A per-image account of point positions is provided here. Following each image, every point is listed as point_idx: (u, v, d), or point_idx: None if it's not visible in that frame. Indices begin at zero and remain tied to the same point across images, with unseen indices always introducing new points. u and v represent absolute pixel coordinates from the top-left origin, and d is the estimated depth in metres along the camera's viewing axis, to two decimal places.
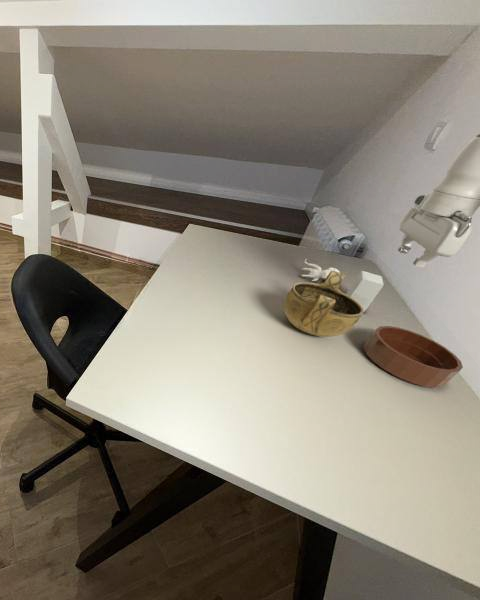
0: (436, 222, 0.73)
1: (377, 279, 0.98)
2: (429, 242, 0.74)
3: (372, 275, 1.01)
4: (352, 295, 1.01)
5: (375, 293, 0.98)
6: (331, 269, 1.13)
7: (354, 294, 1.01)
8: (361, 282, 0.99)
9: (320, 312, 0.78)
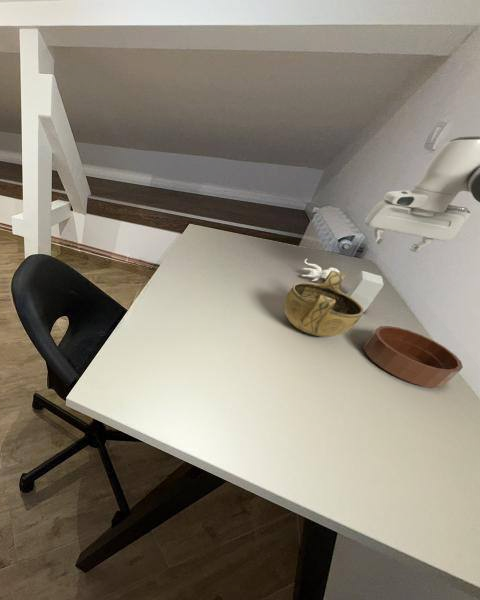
0: (436, 217, 0.85)
1: (377, 279, 0.98)
2: (436, 233, 0.87)
3: (372, 275, 1.01)
4: (352, 295, 1.01)
5: (375, 293, 0.98)
6: (331, 269, 1.13)
7: (354, 294, 1.01)
8: (361, 282, 0.99)
9: (320, 312, 0.78)
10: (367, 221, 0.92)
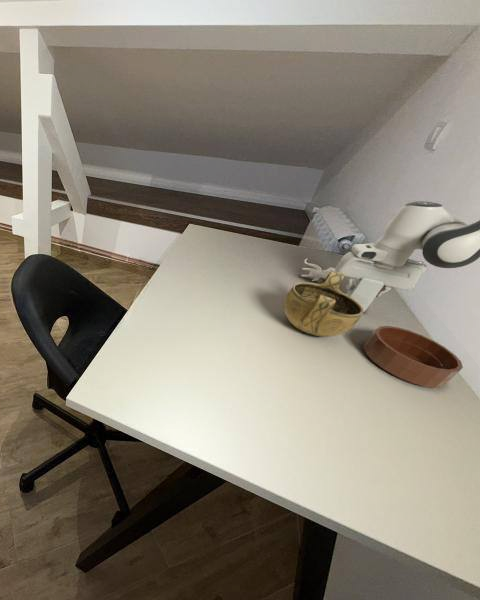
0: (397, 269, 0.94)
1: None
2: (398, 283, 0.96)
3: None
4: (352, 295, 1.01)
5: (375, 293, 0.98)
6: (331, 269, 1.13)
7: (354, 294, 1.01)
8: (361, 282, 0.99)
9: (320, 312, 0.78)
10: (337, 269, 1.02)
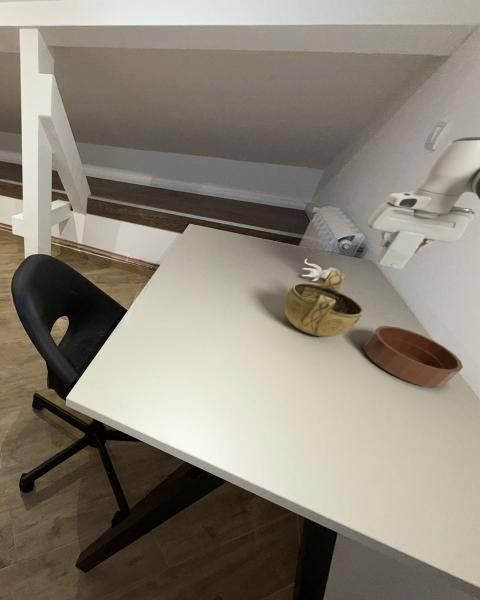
0: (440, 218, 0.84)
1: None
2: (441, 235, 0.86)
3: None
4: (388, 251, 0.91)
5: (415, 247, 0.87)
6: (331, 269, 1.13)
7: (390, 250, 0.90)
8: (398, 235, 0.88)
9: (320, 312, 0.78)
10: (370, 223, 0.92)
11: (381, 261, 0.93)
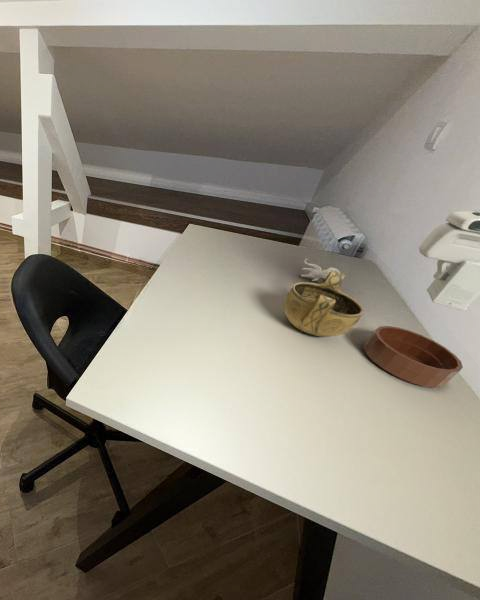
0: None
1: None
2: None
3: None
4: (446, 287, 0.70)
5: None
6: (331, 269, 1.13)
7: (450, 285, 0.69)
8: (463, 267, 0.67)
9: (320, 312, 0.78)
10: (423, 250, 0.70)
11: (436, 298, 0.72)
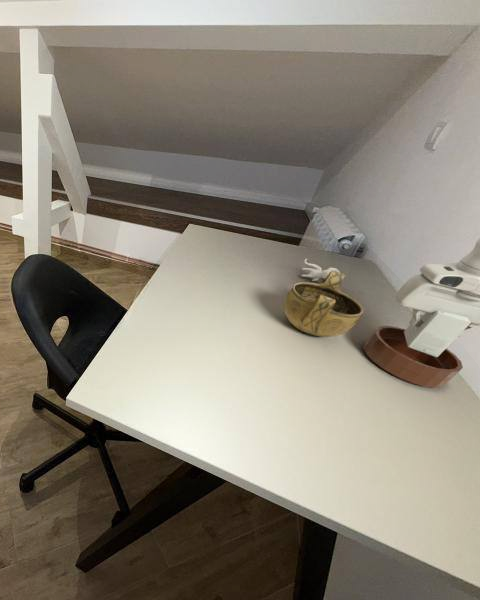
0: None
1: None
2: None
3: None
4: (420, 334, 0.73)
5: (456, 333, 0.69)
6: (331, 269, 1.13)
7: (424, 333, 0.73)
8: (436, 317, 0.71)
9: (320, 312, 0.78)
10: (399, 299, 0.74)
11: (411, 344, 0.75)
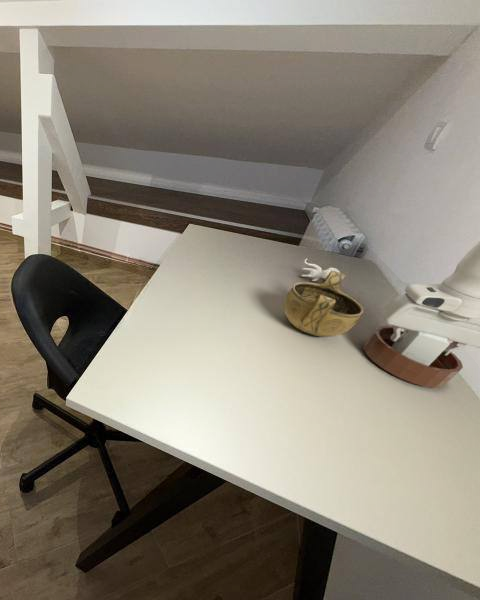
0: (471, 321, 0.69)
1: None
2: (471, 339, 0.71)
3: None
4: (403, 353, 0.77)
5: (436, 354, 0.73)
6: (331, 269, 1.13)
7: (406, 352, 0.76)
8: (417, 338, 0.74)
9: (320, 312, 0.78)
10: (384, 317, 0.77)
11: None
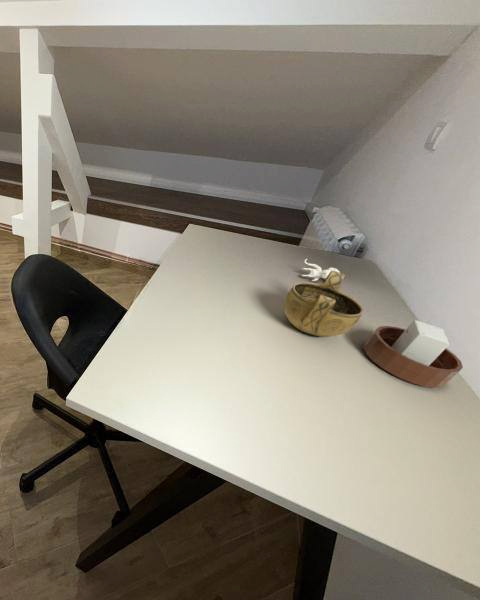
0: None
1: (439, 335, 0.74)
2: None
3: (430, 327, 0.76)
4: (403, 353, 0.77)
5: (436, 354, 0.73)
6: (331, 269, 1.13)
7: (406, 352, 0.76)
8: (417, 338, 0.74)
9: (320, 312, 0.78)
10: None
11: None
